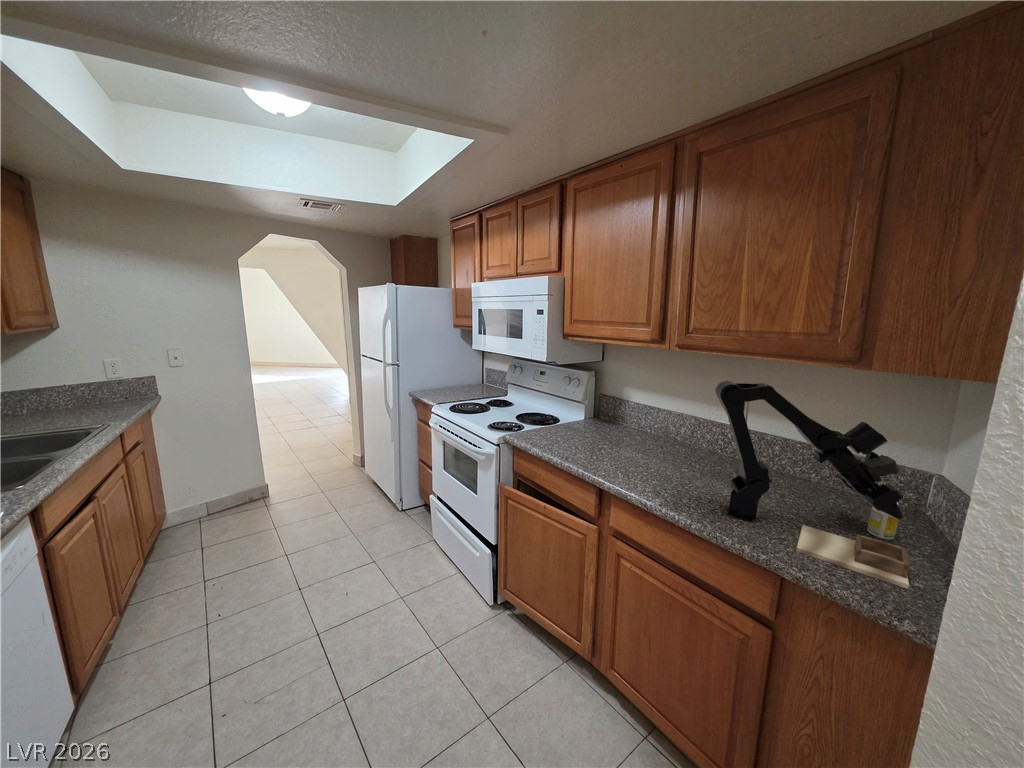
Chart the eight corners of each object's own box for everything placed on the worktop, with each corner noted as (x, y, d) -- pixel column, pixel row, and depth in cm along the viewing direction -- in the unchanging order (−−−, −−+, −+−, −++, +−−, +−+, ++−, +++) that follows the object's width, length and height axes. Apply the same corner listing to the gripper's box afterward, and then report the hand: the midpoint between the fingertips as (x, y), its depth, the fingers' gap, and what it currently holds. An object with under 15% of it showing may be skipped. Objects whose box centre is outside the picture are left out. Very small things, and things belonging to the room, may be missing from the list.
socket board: (796, 551, 96) (798, 536, 95) (802, 528, 106) (804, 514, 105) (908, 589, 83) (912, 572, 82) (902, 558, 94) (905, 543, 93)
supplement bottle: (866, 534, 104) (873, 500, 102) (867, 526, 108) (874, 494, 106) (894, 542, 100) (902, 508, 98) (894, 534, 104) (901, 501, 102)
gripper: (900, 459, 92) (949, 509, 91) (856, 435, 110) (897, 477, 109) (854, 485, 96) (901, 534, 95) (819, 458, 113) (858, 499, 112)
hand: (889, 509), depth 102 cm, fingers open, 9 cm apart
